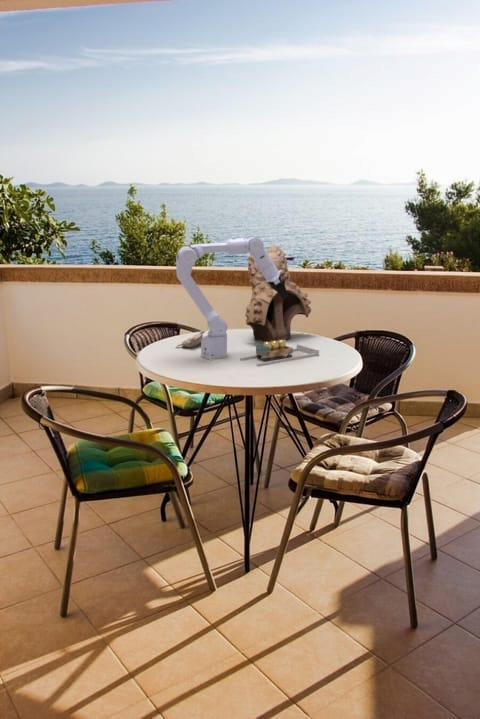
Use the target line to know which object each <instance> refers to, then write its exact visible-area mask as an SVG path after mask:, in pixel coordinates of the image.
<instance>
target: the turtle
mask: <svg viewBox="0 0 480 719" xmlns="http://www.w3.org/2000/svg"><path fill="white" fill-rule="evenodd" d="M205 333H206V330H202V331H200V332H199V333H197V334H195V335H193V336H192V337H188V338H187V339H185V340H184V341H182V342H181V343H179V344H178V345H176V346H175V349H176V348H178V347H180V346H181V347H182V348H184V347H185V348H192V347H197V346H198V345H199V344H201V340H202V338H203V337H204V334H205Z"/></svg>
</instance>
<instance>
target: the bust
mask: <svg viewBox="0 0 480 719" xmlns="http://www.w3.org/2000/svg"><path fill="white" fill-rule="evenodd" d="M266 251H267V253H268V254H269V256H270V258H271V259H272V261H273V263H274V264H275V266H276V268H277V269H278V271H280V270H282V273H281V274H280V275H281V280H283V279H284V280H285V287H286V290H287V293H288V296H289V297H288V298H286V299H283V298H282V297H281V296H280V295H279V293H278V292H277V291H275V290H274V289H272V288H271V285H270V284H268V283H267V282H266V279H265V277H264V276H263V274H262V272H261V271H260V269H259V267H258V266H257V264H256V262H255V261H254V258H253V256H252V255H251V253H250V252H249V256H247V257H248V261H247V265H248V267H247V273H248V274H249V282H250V284H251V290H252V293H251V298H250V302H249V304H248V305H247V306H246V308H245V310H246V312H245V313H244V316H245V317H246V319H245V324H246V325H247V326H250V328H252V331H253V332H252V334H253V339H254V340H255V341H260V342H265V341H270V342H271V341H272V340H278V339H285V340H286V341H288V340H290V339H292V336H291V335H292V333H291V332H292V331H291V323H292V321H293V318H294V317H295V316H297V315H302V316H305V317H306V318H309V315H310V313H311V312H312V308H311V307H310V306H309V305H311V303H312V301H311V300H309V299H308V297H309V296H308V293H307V292H304V291H302V290H301V288H300V286H297V284H296V283H295V282H293V281H292V279H291V278H292V277H291V274H290V270H289V269H288V265H287V263H288V260H287V257H285V256H286V253H285V252H284V251H282V249H281V248H280V247H279V246H277V245H276V244H272V245H270V246H269V248H268V249H266Z"/></svg>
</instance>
